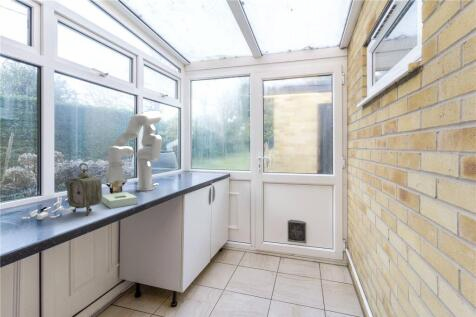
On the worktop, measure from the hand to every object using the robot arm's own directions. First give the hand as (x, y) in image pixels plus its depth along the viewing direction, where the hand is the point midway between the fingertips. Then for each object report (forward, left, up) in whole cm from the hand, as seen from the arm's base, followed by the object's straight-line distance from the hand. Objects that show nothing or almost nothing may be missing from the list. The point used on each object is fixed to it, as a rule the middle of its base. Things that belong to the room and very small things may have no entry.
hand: (116, 192), depth 149 cm
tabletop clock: (+21, +27, -3) cm, 34 cm away
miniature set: (+29, +14, -3) cm, 33 cm away
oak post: (0, 0, -3) cm, 3 cm away
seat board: (+3, +17, -3) cm, 17 cm away
